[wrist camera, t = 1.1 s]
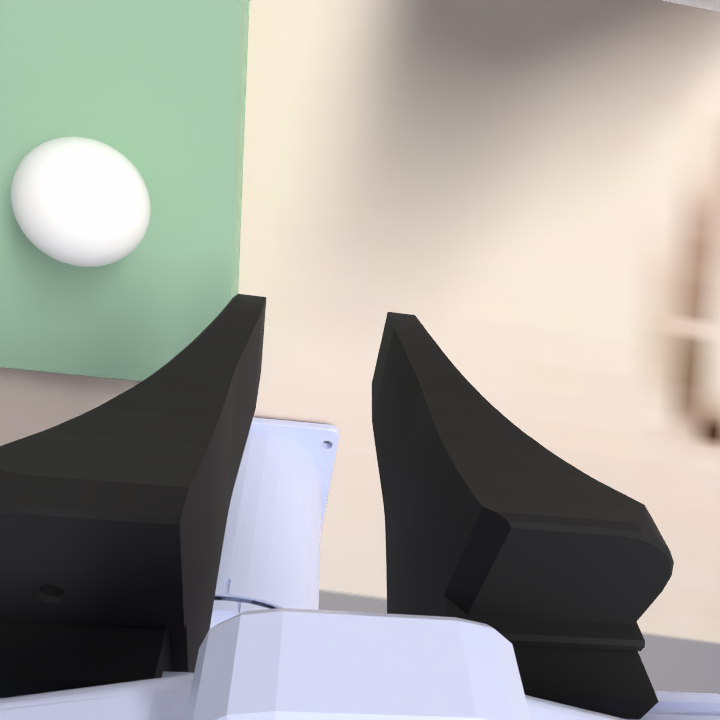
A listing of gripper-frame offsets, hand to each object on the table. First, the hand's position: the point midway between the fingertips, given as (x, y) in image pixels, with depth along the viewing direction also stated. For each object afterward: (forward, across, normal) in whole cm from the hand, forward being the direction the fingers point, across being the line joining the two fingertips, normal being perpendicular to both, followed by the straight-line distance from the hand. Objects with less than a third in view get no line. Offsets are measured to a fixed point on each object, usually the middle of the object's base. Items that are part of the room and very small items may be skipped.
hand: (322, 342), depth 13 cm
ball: (+6, +7, 0) cm, 9 cm away
